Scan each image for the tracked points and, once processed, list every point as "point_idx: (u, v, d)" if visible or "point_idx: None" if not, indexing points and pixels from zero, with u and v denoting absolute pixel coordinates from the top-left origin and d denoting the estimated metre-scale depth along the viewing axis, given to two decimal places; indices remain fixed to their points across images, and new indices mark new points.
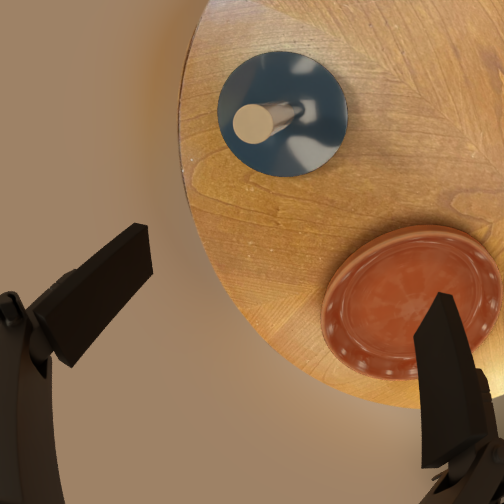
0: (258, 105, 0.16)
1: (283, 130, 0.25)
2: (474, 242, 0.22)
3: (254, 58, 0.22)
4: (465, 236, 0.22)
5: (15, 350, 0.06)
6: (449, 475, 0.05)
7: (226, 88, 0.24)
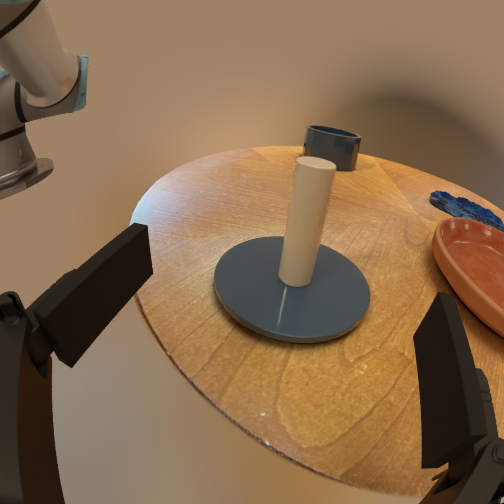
0: None
1: (313, 283, 0.22)
2: (442, 220, 0.30)
3: (222, 258, 0.24)
4: None
5: (15, 350, 0.06)
6: (449, 475, 0.05)
7: (223, 290, 0.20)
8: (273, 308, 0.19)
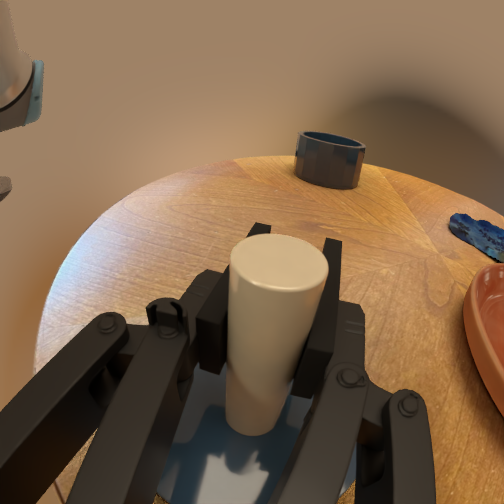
0: None
1: (280, 426, 0.12)
2: (476, 273, 0.20)
3: None
4: (472, 280, 0.20)
5: (162, 372, 0.07)
6: (312, 412, 0.08)
7: None
8: (208, 478, 0.09)
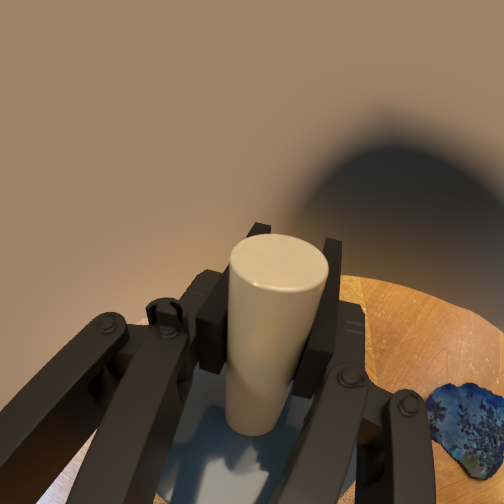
0: None
1: (280, 427, 0.12)
2: None
3: None
4: None
5: (162, 371, 0.07)
6: (312, 412, 0.08)
7: None
8: (208, 479, 0.09)
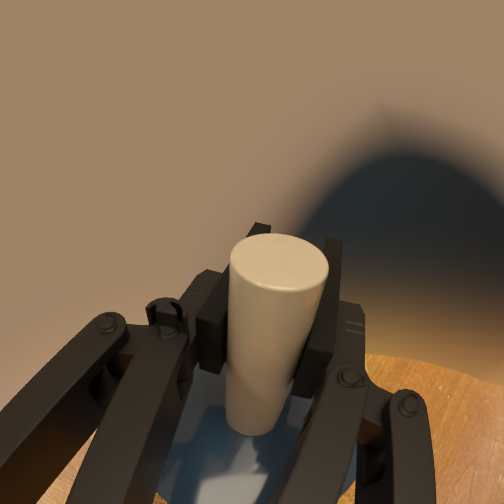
0: None
1: (281, 426, 0.12)
2: None
3: None
4: None
5: (162, 372, 0.07)
6: (312, 412, 0.08)
7: None
8: (208, 478, 0.09)
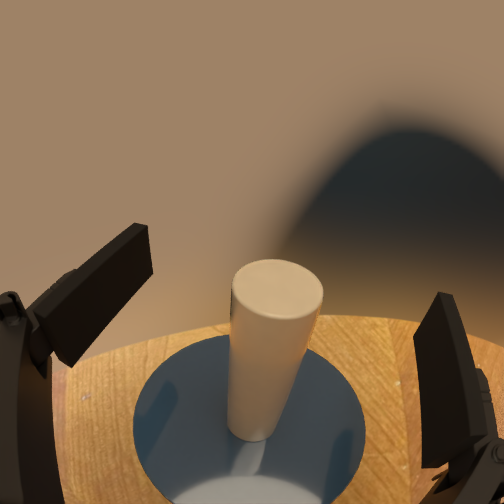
0: None
1: (279, 432, 0.12)
2: None
3: (149, 381, 0.14)
4: None
5: (15, 350, 0.06)
6: (449, 475, 0.05)
7: (143, 446, 0.11)
8: (211, 481, 0.10)
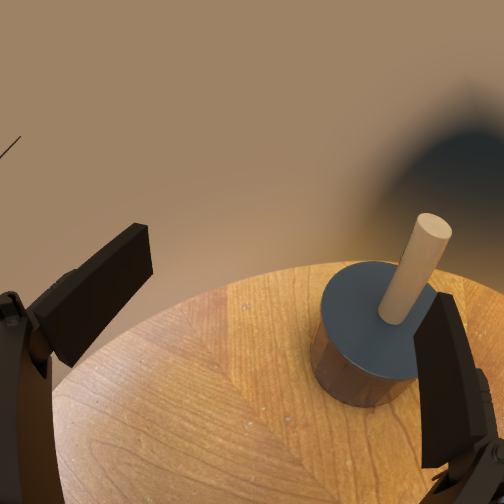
0: None
1: (406, 322, 0.21)
2: None
3: (329, 285, 0.24)
4: None
5: (15, 350, 0.06)
6: (449, 475, 0.05)
7: (329, 323, 0.21)
8: (370, 346, 0.19)
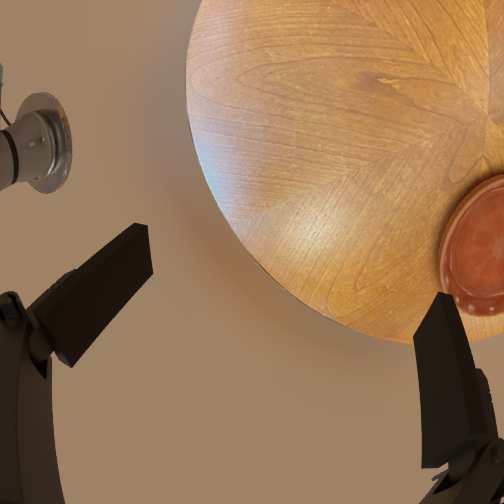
0: None
1: None
2: (482, 189, 0.26)
3: None
4: (475, 193, 0.27)
5: (15, 350, 0.06)
6: (449, 475, 0.05)
7: None
8: None
